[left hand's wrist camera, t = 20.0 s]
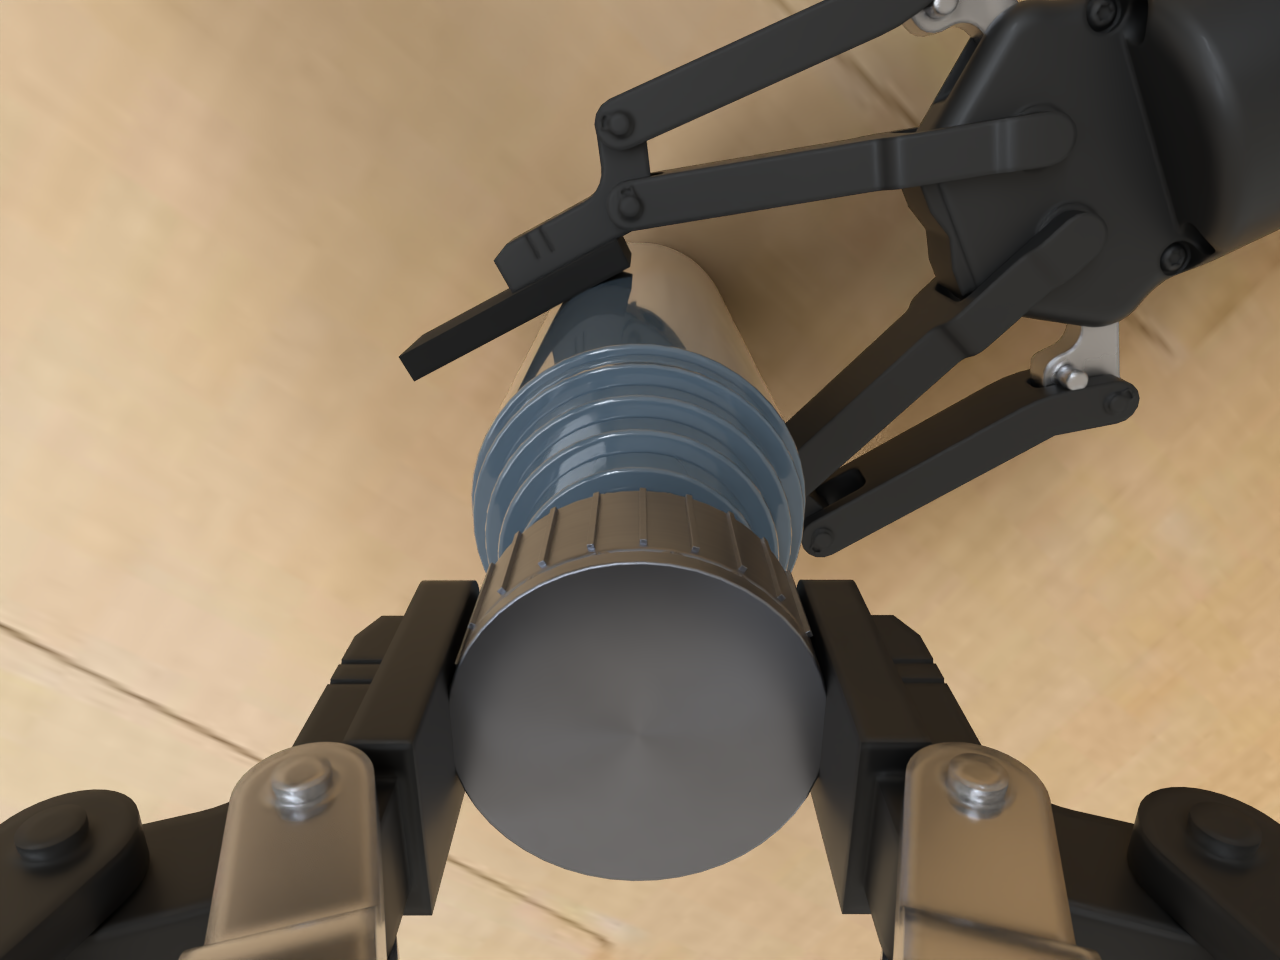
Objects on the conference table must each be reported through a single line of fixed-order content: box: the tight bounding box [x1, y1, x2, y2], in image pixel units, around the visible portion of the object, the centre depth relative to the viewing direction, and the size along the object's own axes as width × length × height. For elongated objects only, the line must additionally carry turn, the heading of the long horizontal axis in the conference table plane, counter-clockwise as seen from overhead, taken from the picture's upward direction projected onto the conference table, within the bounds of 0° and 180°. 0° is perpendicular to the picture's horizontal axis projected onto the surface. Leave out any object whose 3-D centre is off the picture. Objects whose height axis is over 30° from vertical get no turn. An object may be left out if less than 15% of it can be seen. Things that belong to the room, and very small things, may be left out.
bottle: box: [471, 242, 806, 573], centre depth 21 cm, size 6×6×22 cm
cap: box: [449, 488, 827, 881], centre depth 11 cm, size 5×5×2 cm
